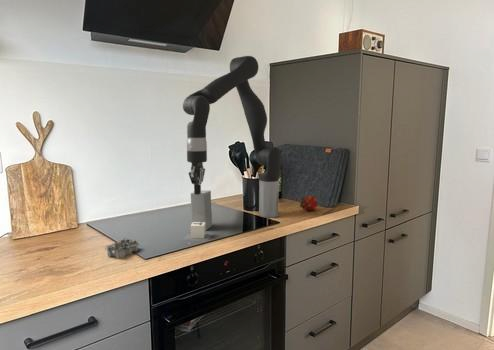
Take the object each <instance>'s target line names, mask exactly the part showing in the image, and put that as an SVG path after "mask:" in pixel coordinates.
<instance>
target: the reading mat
mask: <svg viewBox="0 0 494 350" xmlns="http://www.w3.org/2000/svg"><path fill="white" fill-rule="evenodd" d="M214 234H215V233H214V232H205V237H204V238H191V231H189V233H187V234H186V235H185V236H184V237H183V238H182V239H181V240H183V241H196V242H197V241H198V242H207V241H208V240H209V239H210V238H211V237H212V236H213V235H214Z"/></svg>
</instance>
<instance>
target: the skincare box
mask: <svg viewBox="0 0 494 350" xmlns="http://www.w3.org/2000/svg"><path fill="white" fill-rule="evenodd" d="M211 193H212V191H211V190H210V189H209V190H206V189H205V190H203V189H201V194H199V195H197V194H194V191H192V192H190V205H191V207H190V208H191V224H192V223H193V222H205V231H207V230H209V229H210V228H211V227H212V226H213V214H212V211H213V210H212V194H211Z"/></svg>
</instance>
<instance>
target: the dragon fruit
mask: <svg viewBox="0 0 494 350" xmlns="http://www.w3.org/2000/svg"><path fill="white" fill-rule="evenodd" d="M299 205H300V208H302V209H303V210H304V211H305V210H307V211H306V212H308V211H312V212H313V211H315V210H316V208H317V207H318V205H319V203H318V198H317V197H315V196H314V195H305V196H302V197H301V198H300V201H299Z"/></svg>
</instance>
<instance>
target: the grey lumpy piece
mask: <svg viewBox="0 0 494 350" xmlns="http://www.w3.org/2000/svg"><path fill="white" fill-rule="evenodd" d="M140 243H141V241H138V242H137V241H136V239H134V240H133V239H130V238H127V237H124V238H122V239H121V240H118V241H116V242H114V243H112V244H108V245H106V246H105V247H104V250H105V251H106V250H107V253H106V254H107V257H108V258H111V257H115V258H116V259H120V258H125V257H126V255H131V254H132V252H137V251H139V249H138V247H139V246H140Z"/></svg>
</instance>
